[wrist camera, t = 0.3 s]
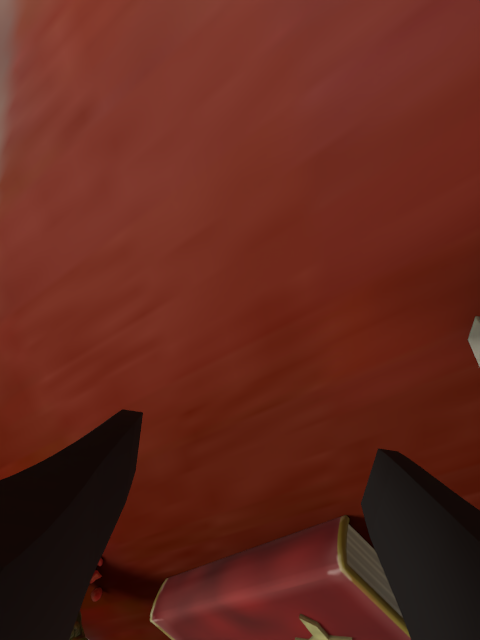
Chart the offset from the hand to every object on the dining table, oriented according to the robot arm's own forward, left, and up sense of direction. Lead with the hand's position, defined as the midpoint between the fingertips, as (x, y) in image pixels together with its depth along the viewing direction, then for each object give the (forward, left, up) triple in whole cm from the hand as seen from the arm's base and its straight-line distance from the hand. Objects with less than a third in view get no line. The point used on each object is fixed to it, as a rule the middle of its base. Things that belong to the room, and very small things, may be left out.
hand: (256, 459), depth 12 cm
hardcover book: (-20, +16, -10) cm, 28 cm away
